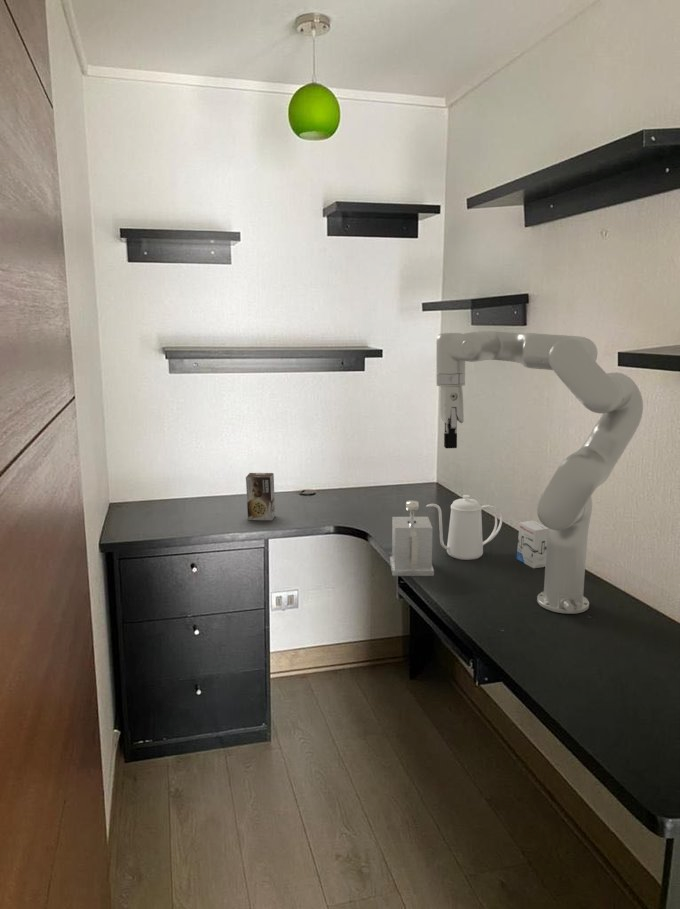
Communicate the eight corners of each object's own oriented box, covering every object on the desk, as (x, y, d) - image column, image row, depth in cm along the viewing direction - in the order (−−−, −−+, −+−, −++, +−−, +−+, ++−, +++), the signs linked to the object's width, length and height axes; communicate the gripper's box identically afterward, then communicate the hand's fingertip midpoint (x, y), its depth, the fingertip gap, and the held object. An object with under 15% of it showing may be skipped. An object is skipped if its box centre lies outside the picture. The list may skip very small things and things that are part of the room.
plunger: (424, 566, 196) (426, 505, 192) (400, 566, 196) (401, 505, 192) (422, 557, 203) (423, 498, 199) (398, 557, 203) (398, 498, 199)
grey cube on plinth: (435, 579, 191) (436, 531, 189) (393, 579, 191) (393, 531, 189) (428, 561, 205) (429, 516, 202) (389, 561, 205) (390, 516, 202)
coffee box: (275, 515, 251) (274, 472, 248) (272, 520, 245) (270, 476, 242) (251, 515, 252) (249, 472, 249) (247, 520, 246) (245, 476, 243)
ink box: (515, 559, 207) (517, 521, 204) (529, 556, 208) (531, 519, 206) (533, 568, 199) (535, 530, 196) (547, 566, 200) (550, 528, 198)
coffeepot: (418, 552, 212) (419, 494, 208) (491, 545, 219) (494, 487, 215) (432, 565, 202) (433, 503, 198) (508, 556, 209) (511, 496, 205)
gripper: (470, 382, 176) (469, 452, 179) (459, 377, 190) (459, 442, 194) (440, 382, 176) (440, 453, 179) (432, 378, 190) (432, 443, 194)
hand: (450, 447), depth 187 cm, fingers closed
